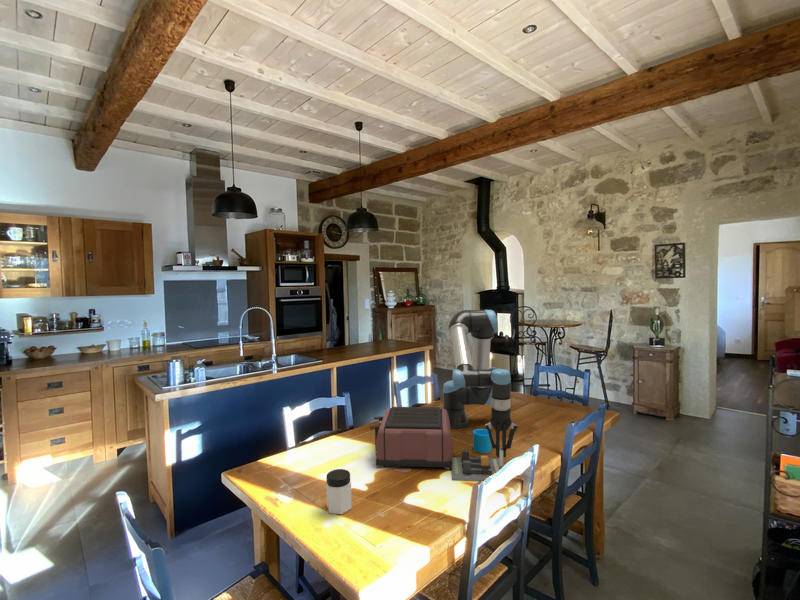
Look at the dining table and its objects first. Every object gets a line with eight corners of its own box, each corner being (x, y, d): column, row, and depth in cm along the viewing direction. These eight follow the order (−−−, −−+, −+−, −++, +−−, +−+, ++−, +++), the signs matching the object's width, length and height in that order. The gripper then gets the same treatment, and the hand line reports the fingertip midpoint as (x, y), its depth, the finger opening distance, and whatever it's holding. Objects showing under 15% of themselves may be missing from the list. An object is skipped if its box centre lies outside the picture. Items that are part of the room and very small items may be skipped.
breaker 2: (463, 469, 164) (463, 460, 163) (470, 469, 163) (470, 460, 163) (463, 473, 161) (463, 463, 161) (471, 473, 161) (471, 463, 160)
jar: (341, 498, 148) (340, 466, 147) (356, 506, 143) (355, 472, 142) (321, 509, 141) (320, 475, 140) (337, 517, 136) (336, 483, 135)
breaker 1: (461, 458, 174) (461, 449, 173) (468, 458, 173) (468, 449, 173) (462, 461, 171) (462, 452, 171) (469, 461, 170) (469, 452, 170)
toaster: (377, 439, 202) (376, 404, 201) (450, 440, 198) (449, 405, 197) (366, 468, 171) (366, 427, 170) (452, 470, 168) (452, 428, 167)
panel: (451, 461, 176) (451, 456, 176) (498, 463, 174) (498, 458, 174) (452, 480, 160) (452, 474, 160) (504, 481, 158) (504, 476, 158)
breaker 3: (480, 464, 168) (480, 455, 168) (488, 464, 168) (488, 455, 167) (481, 467, 165) (481, 458, 165) (488, 467, 165) (488, 458, 165)
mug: (484, 454, 182) (484, 437, 182) (469, 449, 188) (469, 432, 188) (499, 447, 190) (499, 430, 190) (485, 442, 196) (485, 425, 196)
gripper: (485, 410, 161) (485, 468, 163) (519, 411, 160) (519, 469, 161) (483, 404, 169) (483, 460, 170) (515, 405, 167) (515, 460, 169)
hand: (500, 464), depth 166 cm, fingers closed
